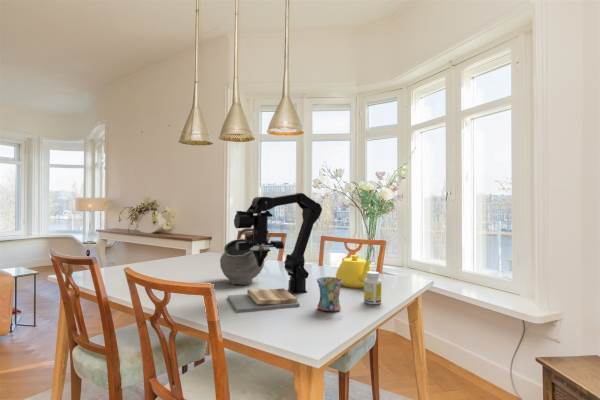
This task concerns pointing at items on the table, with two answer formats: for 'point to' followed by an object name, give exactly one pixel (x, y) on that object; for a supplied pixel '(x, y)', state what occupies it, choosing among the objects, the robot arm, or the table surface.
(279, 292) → the plank
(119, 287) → the table surface
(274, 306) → the underlay
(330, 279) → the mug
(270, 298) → the click plank
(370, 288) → the pill bottle
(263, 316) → the table surface
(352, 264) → the teapot
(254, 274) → the pot
